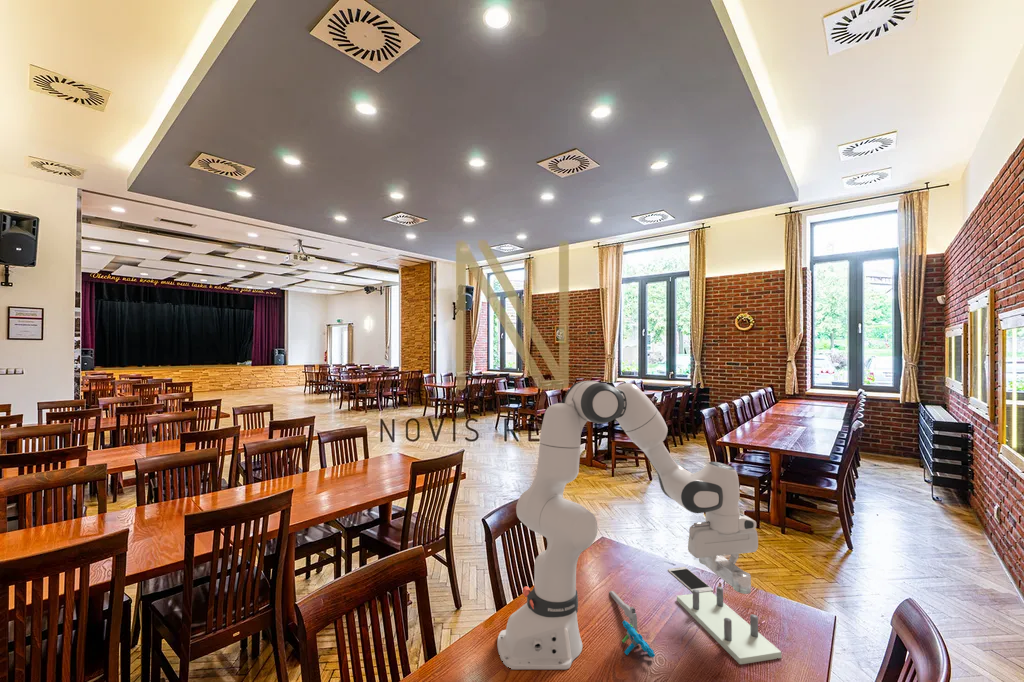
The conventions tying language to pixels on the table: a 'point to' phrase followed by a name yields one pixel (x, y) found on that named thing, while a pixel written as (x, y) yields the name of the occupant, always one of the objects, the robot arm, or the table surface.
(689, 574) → the smartphone
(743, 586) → the grey dumbbell
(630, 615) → the caliper
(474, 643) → the table surface
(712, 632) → the board
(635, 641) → the gear
